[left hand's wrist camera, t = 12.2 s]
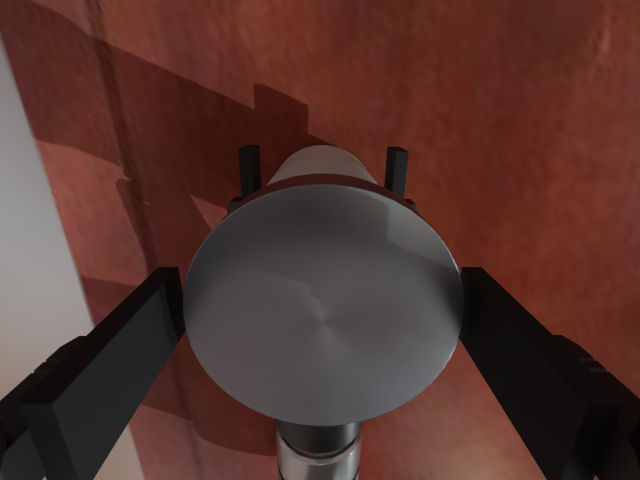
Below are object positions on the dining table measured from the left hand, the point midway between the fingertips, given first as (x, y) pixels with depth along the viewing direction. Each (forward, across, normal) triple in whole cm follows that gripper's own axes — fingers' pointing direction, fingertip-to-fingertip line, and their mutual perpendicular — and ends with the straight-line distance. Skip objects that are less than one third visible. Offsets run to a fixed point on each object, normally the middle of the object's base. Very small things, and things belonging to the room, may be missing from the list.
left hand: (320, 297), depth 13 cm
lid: (-2, 0, 0) cm, 2 cm away
